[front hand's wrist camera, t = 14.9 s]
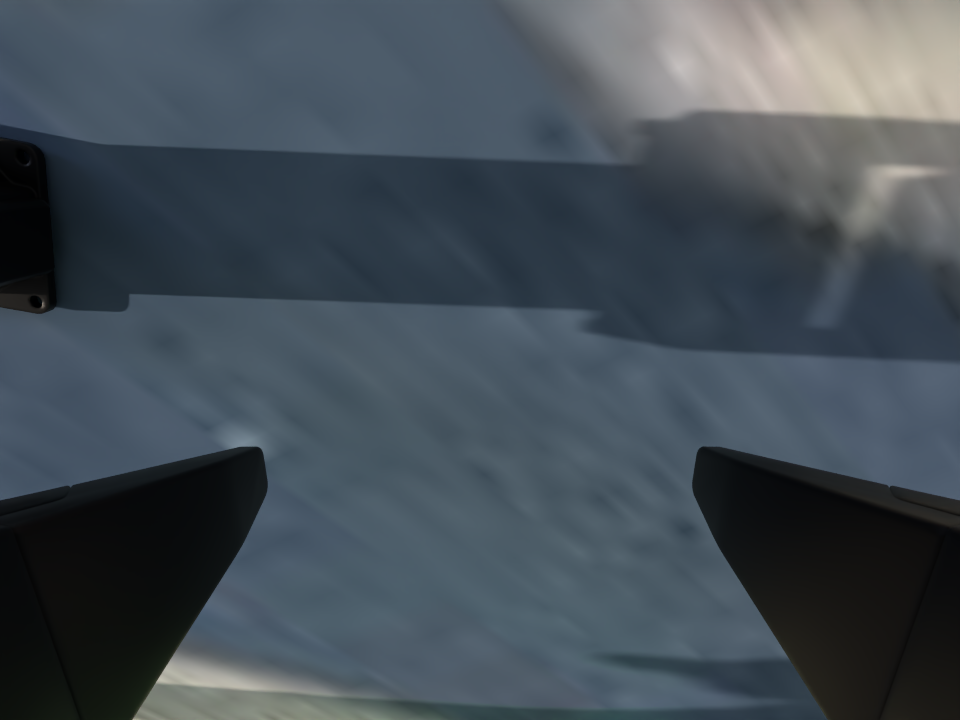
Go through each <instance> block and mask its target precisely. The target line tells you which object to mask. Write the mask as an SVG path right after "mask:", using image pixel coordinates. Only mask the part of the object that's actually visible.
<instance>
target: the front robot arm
mask: <svg viewBox="0 0 960 720" xmlns="http://www.w3.org/2000/svg"><path fill="white" fill-rule="evenodd" d="M25 151H26V152H27V153H28V154H29V157H30V161H29V163H28V162H27V161H26V160H25V158H24V152H25ZM37 296H38V297H40V298H41V300H42V302H43V304H40V303H39V302H38V300H37ZM55 306H56V291H55V279H54V257H53V244H52V231H51V219H50V208H49V204H48V191H47V179H46V166H45V158H44V154H43V153H42V151H41V150H40V149H39V148H38V147H37V146H36V145H34V144H31V143H28V142H23V141H17V140H12V139H7V138H2V137H0V307H2V308H8V309H14V310H19V311H25V312H31V313H36V314H42V313H45V312H48V311H50V310H53V309H54V308H55ZM267 488H268V481H267V475H266V468H265V462H264V455H263V452H262V450H261V448H259V447H238V448H233V449H229V450H224V451H220V452H216V453H211V454H207V455H203V456H198V457H194V458H190V459H185V460H181V461H176V462H172V463H168V464H163V465H159V466H155V467H150V468H146V469H141V470H137V471H133V472H128V473H124V474H120V475H115V476H111V477H106V478H102V479H98V480H93V481H89V482H85V483H80V484H76V485H73V486H72V487H71V488H70V486H64V487H59V488H55V489H51V490H46V491H42V492H37V493H33V494H28V495H23V496H19V497H14V498H10V499H5V500H0V720H132V719H133V718H134V716H135V715H136V713H137V711H138V710H139V708H140V707H141V705H142V703H143V702H144V700H145V699H146V697H147V696H148V694H149V692H150V691H151V689H152V688H153V686H154V684H155V683H156V681H157V680H158V678H159V677H160V675H161V673H162V672H163V670H164V669H165V667H166V666H167V664H168V662H169V661H170V659H171V658H172V656H173V654H174V653H175V651H176V650H177V648H178V647H179V645H180V643H181V642H182V640H183V639H184V637H185V636H186V634H187V632H188V631H189V629H190V628H191V626H192V624H193V623H194V621H195V620H196V618H197V617H198V615H199V613H200V612H201V610H202V609H203V607H204V606H205V604H206V602H207V601H208V599H209V598H210V596H211V594H212V593H213V591H214V590H215V588H216V587H217V585H218V583H219V582H220V580H221V579H222V577H223V576H224V574H225V572H226V571H227V569H228V568H229V566H230V564H231V563H232V561H233V560H234V558H235V557H236V555H237V553H238V552H239V550H240V548H241V547H242V545H243V543H244V541H245V539H246V537H247V535H248V533H249V531H250V528H251V526H252V524H253V522H254V520H255V518H256V515H257V513H258V511H259V509H260V507H261V505H262V503H263V500H264V498H265V496H266V493H267ZM692 488H693V493H694V496H695V498H696V500H697V503H698V505H699V507H700V509H701V511H702V513H703V515H704V518H705V520H706V522H707V524H708V526H709V528H710V531H711V533H712V535H713V537H714V539H715V541H716V543H717V545H718V547H719V548H720V550H721V552H722V553H723V555H724V557H725V558H726V560H727V561H728V563H729V564H730V566H731V568H732V569H733V571H734V572H735V574H736V576H737V577H738V579H739V580H740V582H741V583H742V585H743V587H744V588H745V590H746V591H747V593H748V594H749V596H750V598H751V599H752V601H753V602H754V604H755V605H756V607H757V609H758V610H759V612H760V613H761V615H762V617H763V618H764V620H765V621H766V623H767V624H768V626H769V628H770V629H771V631H772V632H773V634H774V635H775V637H776V639H777V640H778V642H779V643H780V645H781V647H782V648H783V650H784V651H785V653H786V654H787V656H788V658H789V659H790V661H791V662H792V664H793V666H794V667H795V669H796V670H797V672H798V673H799V675H800V677H801V678H802V680H803V681H804V683H805V684H806V686H807V688H808V689H809V691H810V692H811V694H812V696H813V697H814V699H815V700H816V702H817V703H818V705H819V707H820V708H821V710H822V711H823V713H824V714H825V716H826V718H827V719H828V720H960V500H955V499H950V498H946V497H941V496H937V495H932V494H927V493H923V492H918V491H914V490H909V489H905V488H901V487H896V486H890V488H889V487H888V486H887V485H884V484H880V483H876V482H871V481H867V480H862V479H858V478H854V477H849V476H845V475H841V474H836V473H832V472H827V471H823V470H819V469H814V468H810V467H806V466H801V465H797V464H792V463H788V462H784V461H779V460H775V459H771V458H766V457H762V456H757V455H753V454H749V453H744V452H740V451H736V450H731V449H727V448H722V447H701V448H699V450H698V452H697V455H696V462H695V468H694V475H693V481H692Z"/></svg>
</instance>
